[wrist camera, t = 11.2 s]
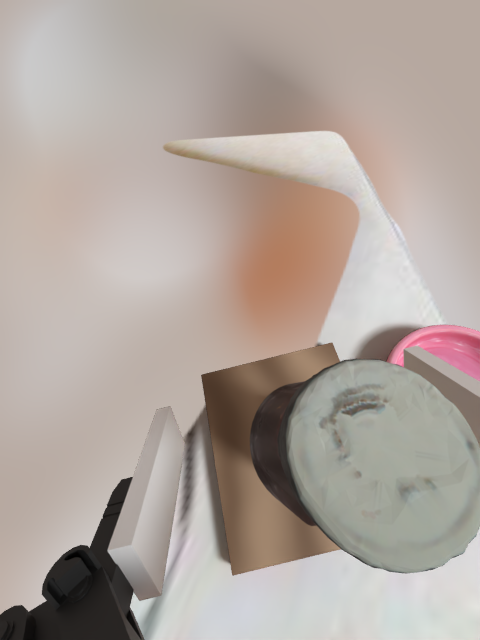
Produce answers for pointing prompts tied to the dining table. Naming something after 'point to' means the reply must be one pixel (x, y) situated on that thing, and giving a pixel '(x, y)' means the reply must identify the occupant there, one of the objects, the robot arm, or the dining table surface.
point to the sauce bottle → (372, 463)
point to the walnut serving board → (237, 467)
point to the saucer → (444, 347)
